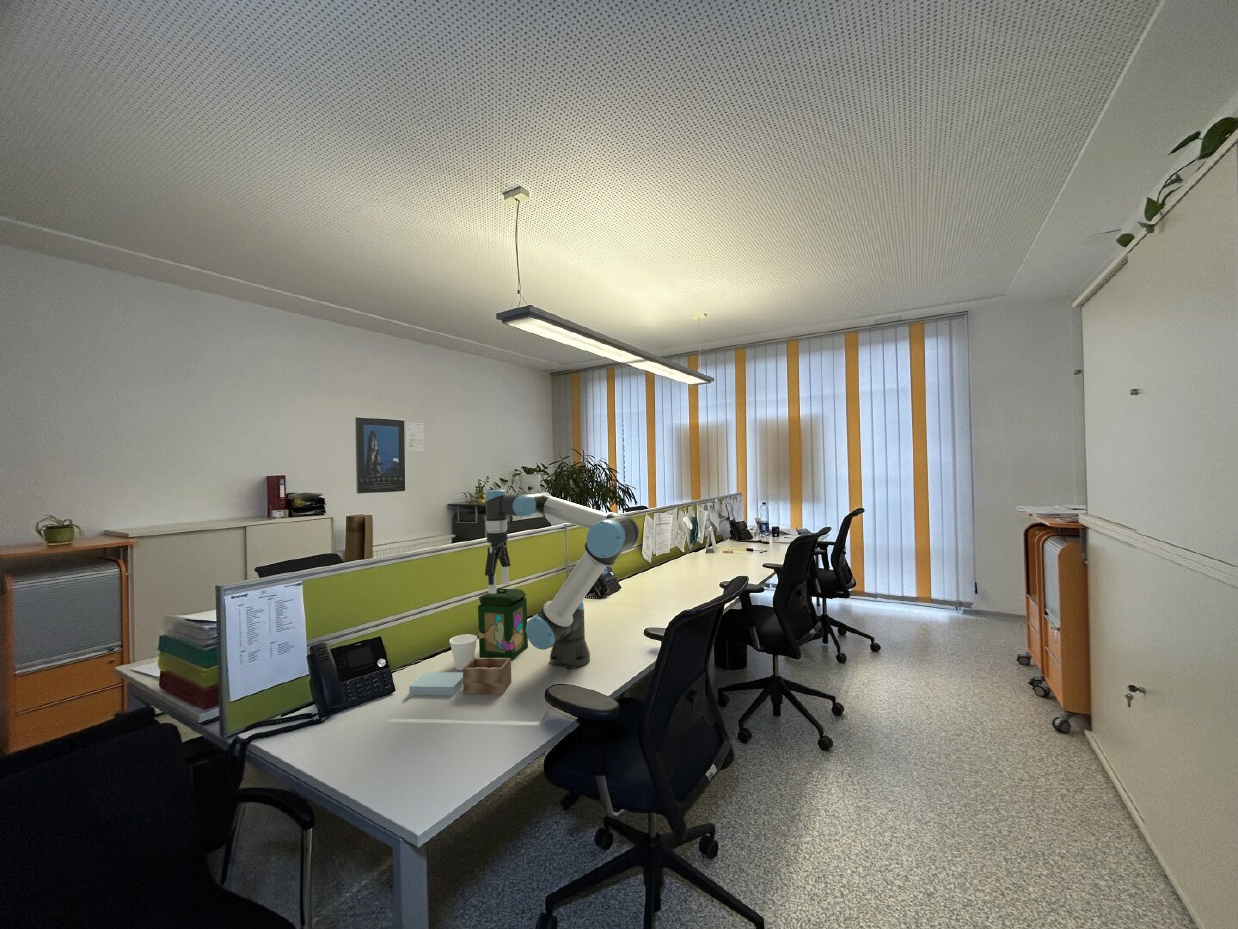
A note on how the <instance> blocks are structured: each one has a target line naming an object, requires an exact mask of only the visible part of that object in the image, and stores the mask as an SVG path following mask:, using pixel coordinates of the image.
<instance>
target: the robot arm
mask: <svg viewBox="0 0 1238 929" xmlns="http://www.w3.org/2000/svg"><path fill="white" fill-rule="evenodd" d="M484 500H485V501H484V504H485V515H486V516H485V518H486V519H485V524H484V525H485V526H486V531H487V532H486V543H487V544H491V545H490V546H491V547H489V546H488V547H487V556H486V562H485V571H484V577H485V576H486V577H487V593H488V594H496V589H497V575H496V574H495V573H496V570H497V565H498V560H499V562H500V565H501V566H500V585H508V584H510V583H509V582H510V580H509V567H511V560H510V559H511V558H510V555H509V550H508V545H507V542H508V531H507V530H508V519H507V518H508V516H512V517H522V518H523V517H530V516H532V515H533V514H540V515H543V516H547V517H550V518H553V519H556V520H559V521H561V522H565V523H567V524H571V525H573V526H577V527H580V528H583V529H586V530H588V531H587V534H586V542H585V543H584V546H583V548H584V553H583V554H582V556H581V557H580V558H579V560H578V562H577V563H576V565H575V566H574V568H573V569H572V571H570V573H569V575H568V576H567V579H566V580H565V581H564V582H563V584H562V586H560V589H558V592H557V593H556V594H555V596H554V598H553V599H552V600H547V601H546V602H545V603H544V604H543V606H542V607H541V609H540V610H539V611H538V613H537V614H536V615H534V616H532V617H531V618H530V619H528V620H527V625H526V633H527V638H528V642H529V643H530V644H531V645H532V646H533V647H534V648H535V649H537V650H541V651H542V650H543V651H544V650H548V649H550V648H551V650H550V654H549V663H550V665H553V666H556V667H563V668H566V669H575V668H579V667H582V666H585V665H587V664H588V663H589V662H590V661H591V652H590V650H589V646H588V644H587V642H586V636H585V633H586V632H585V606H584V602H583V600H584V599H585V597H586V596H587V595H588V593H589V592H590V590H591V589H592V588H593V586H594V585H595V584H596V582H597V581H598V579H599V578H600V576H601V575H602V573H603V572H604V571H605V569H606V567H612V566H613V565H614V564H615V562H616V561H617V560H618V559H619V558H620V556H621V554H622V553H623V552H624V551H627V550H628V549H631V548H633V547H634V546H635V545H636V544H637V543H638V541H639V538H640V528H639V524H637V521H636V520H634V518H632V517H630V516H628V515H624V514H621V513H617V512H614V511H611V512H608V513H607V512H604V511H602V510H601V511H600V510H598V509H594V508H590V507H587V506H584V505H581V504H577V503H575V502H570V501H568V500H564V499H561V498H557V497H554V496H552V495H551V493H548V492H543V491H540V492H535V493H527V494H518V495H515V494H513V495H512V494H511V495H507V491H506V489H489V490H487V491H486V492H485V499H484Z"/></svg>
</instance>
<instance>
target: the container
mask: <svg viewBox="0 0 1238 929" xmlns="http://www.w3.org/2000/svg"><path fill="white" fill-rule="evenodd" d="M526 596H527V594H526V592H524V590H523V589H521V588H499V587H498V588H496V594H488V592H486V593H485V594H482V595H480V596H478V600H479V603H480V604H478V606H477V616H478V617H477V619H478V621H477V622H478V646H479V647H478V649H479V652H478V654H479V655H478V656H479V658H511V662H512V661H513V660H515V658H517V657H518V656H519V655H521V654H522V653H523V652H524V651H525V650H527V649H528V648H529V640H528V638H527V633H526V625H527V622H528V608H527V607H528V604H527V599H528V598H527V597H526Z"/></svg>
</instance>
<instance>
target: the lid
mask: <svg viewBox="0 0 1238 929" xmlns="http://www.w3.org/2000/svg"><path fill="white" fill-rule="evenodd" d="M462 687H463V671H462V672H461V671H459V672H457V671H454V672H452V671H451V672H449V671H445V672H444V671H425V672H423V674H421V676H419V677H418V678H417V679H416V680H415V681H414V682H412V683H411V684H409V686H408V688H409V689H408V693H409V694H408V695H409V696H408V697H409V698H413V697H414V696H455V694H457V693H458V691H459V690H460V689H461V688H462Z"/></svg>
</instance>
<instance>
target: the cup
mask: <svg viewBox="0 0 1238 929" xmlns="http://www.w3.org/2000/svg"><path fill="white" fill-rule="evenodd" d="M477 640H478V636H477V635H476V634H473V633H471V634H470V633H469V634H468V633H466V634H459V635H456V636H453V637H451V638H450V639H449V644H450V647H451V652H452V658H453V662H454V663H453V664H454V668H455V670H457V671H463V668H464V667H465V666H466V665H467V664H468V663H469V662H470V661H471V660H472V659H473V658H475V655H476V646H477Z"/></svg>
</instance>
